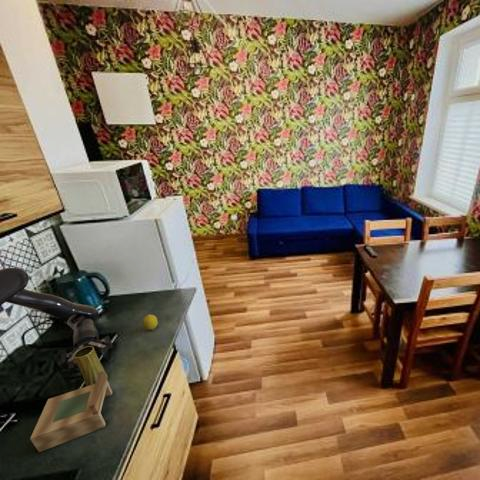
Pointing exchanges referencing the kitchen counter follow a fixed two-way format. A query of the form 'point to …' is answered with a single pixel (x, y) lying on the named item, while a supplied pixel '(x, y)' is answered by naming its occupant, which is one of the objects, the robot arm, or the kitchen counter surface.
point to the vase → (89, 364)
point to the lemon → (150, 322)
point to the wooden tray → (71, 415)
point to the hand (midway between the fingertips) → (89, 362)
